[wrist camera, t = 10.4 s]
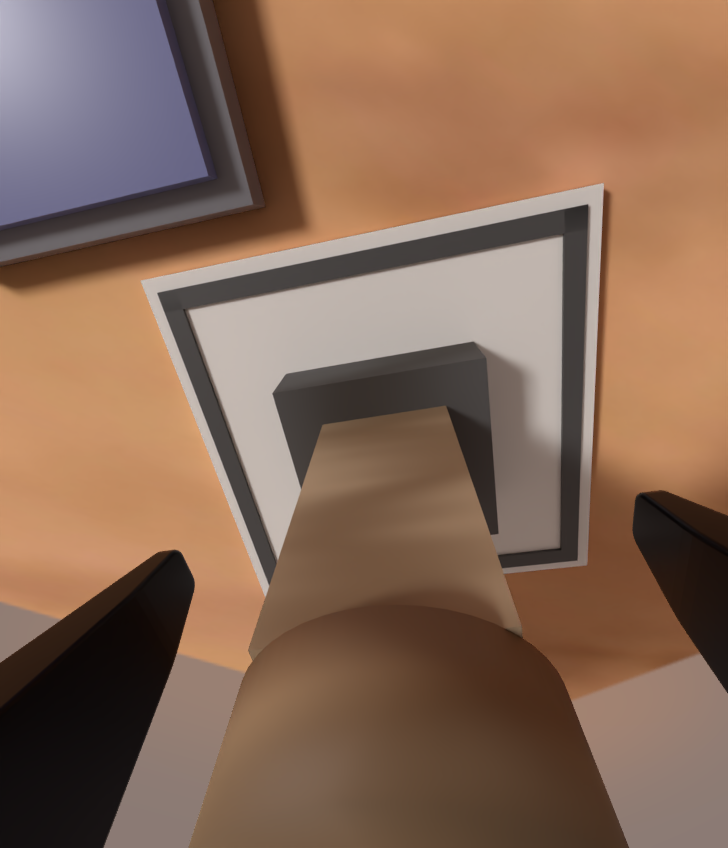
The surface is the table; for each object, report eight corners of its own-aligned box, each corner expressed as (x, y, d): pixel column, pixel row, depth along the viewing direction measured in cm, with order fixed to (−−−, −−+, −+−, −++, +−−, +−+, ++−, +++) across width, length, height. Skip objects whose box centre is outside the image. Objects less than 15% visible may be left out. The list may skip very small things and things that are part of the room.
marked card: (597, 184, 9) (605, 182, 9) (583, 558, 14) (588, 567, 13) (146, 279, 11) (138, 281, 10) (267, 591, 15) (264, 600, 15)
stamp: (473, 341, 11) (786, 735, 2) (486, 501, 13) (677, 1015, 4) (286, 373, 11) (1, 776, 3) (327, 521, 13) (229, 1003, 5)
